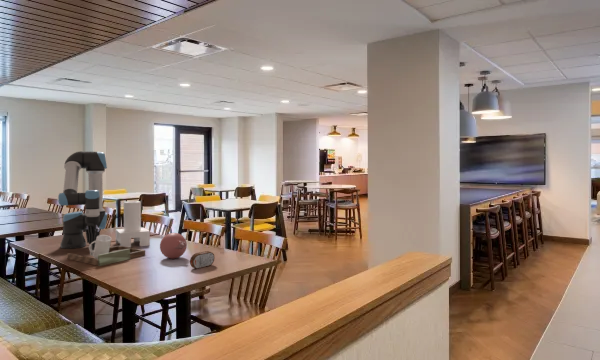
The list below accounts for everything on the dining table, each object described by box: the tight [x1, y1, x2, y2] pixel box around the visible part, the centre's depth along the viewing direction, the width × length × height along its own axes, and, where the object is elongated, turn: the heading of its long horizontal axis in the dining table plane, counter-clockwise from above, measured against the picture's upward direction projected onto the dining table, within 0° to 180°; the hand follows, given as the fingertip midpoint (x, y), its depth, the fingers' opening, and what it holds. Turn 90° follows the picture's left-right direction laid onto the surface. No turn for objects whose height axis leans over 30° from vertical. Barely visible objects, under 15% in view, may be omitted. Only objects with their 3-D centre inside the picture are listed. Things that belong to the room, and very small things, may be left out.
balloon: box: [159, 232, 188, 260], centre depth 236 cm, size 15×20×15 cm
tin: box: [189, 250, 215, 269], centre depth 218 cm, size 15×3×8 cm, turn 141°
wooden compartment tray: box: [66, 245, 146, 267], centre depth 239 cm, size 32×31×6 cm
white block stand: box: [115, 200, 151, 248], centre depth 277 cm, size 19×19×30 cm
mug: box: [88, 234, 112, 259], centre depth 234 cm, size 12×8×12 cm
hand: (92, 254), depth 237 cm, fingers closed
